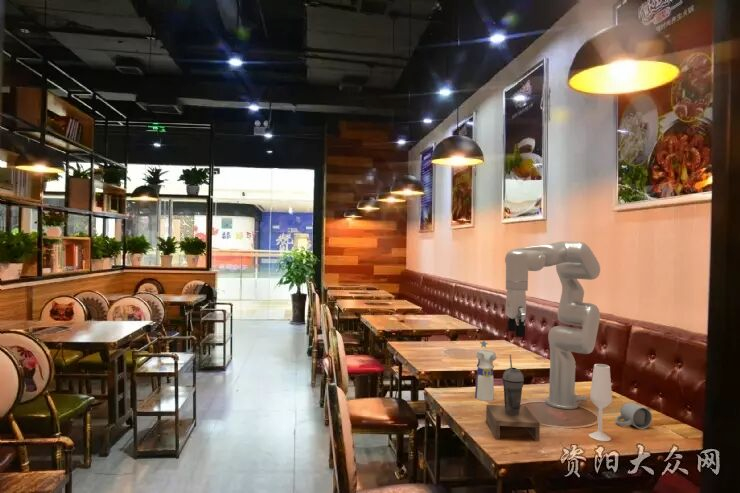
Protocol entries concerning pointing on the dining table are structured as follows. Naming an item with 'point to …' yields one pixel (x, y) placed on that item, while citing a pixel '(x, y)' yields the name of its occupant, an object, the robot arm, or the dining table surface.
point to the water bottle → (485, 374)
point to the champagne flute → (601, 396)
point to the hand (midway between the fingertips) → (516, 333)
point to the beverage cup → (512, 389)
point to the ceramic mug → (635, 416)
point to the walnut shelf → (511, 420)
